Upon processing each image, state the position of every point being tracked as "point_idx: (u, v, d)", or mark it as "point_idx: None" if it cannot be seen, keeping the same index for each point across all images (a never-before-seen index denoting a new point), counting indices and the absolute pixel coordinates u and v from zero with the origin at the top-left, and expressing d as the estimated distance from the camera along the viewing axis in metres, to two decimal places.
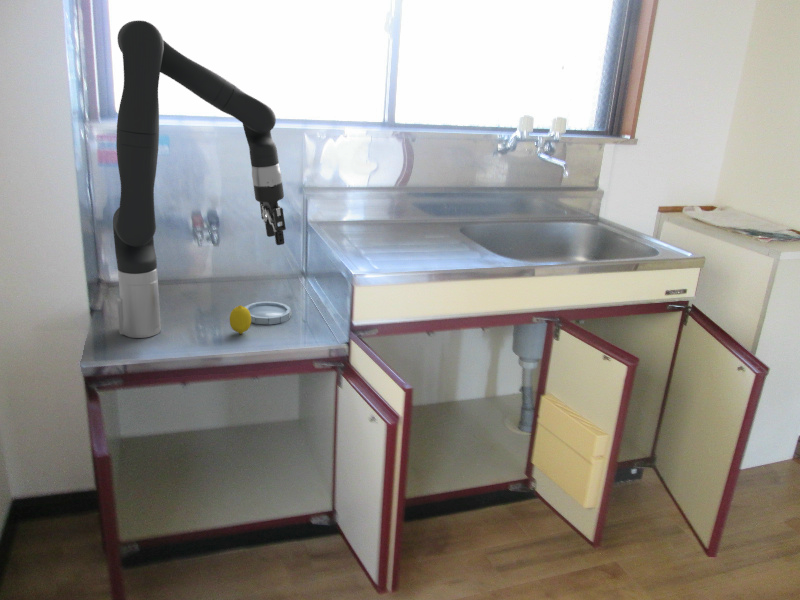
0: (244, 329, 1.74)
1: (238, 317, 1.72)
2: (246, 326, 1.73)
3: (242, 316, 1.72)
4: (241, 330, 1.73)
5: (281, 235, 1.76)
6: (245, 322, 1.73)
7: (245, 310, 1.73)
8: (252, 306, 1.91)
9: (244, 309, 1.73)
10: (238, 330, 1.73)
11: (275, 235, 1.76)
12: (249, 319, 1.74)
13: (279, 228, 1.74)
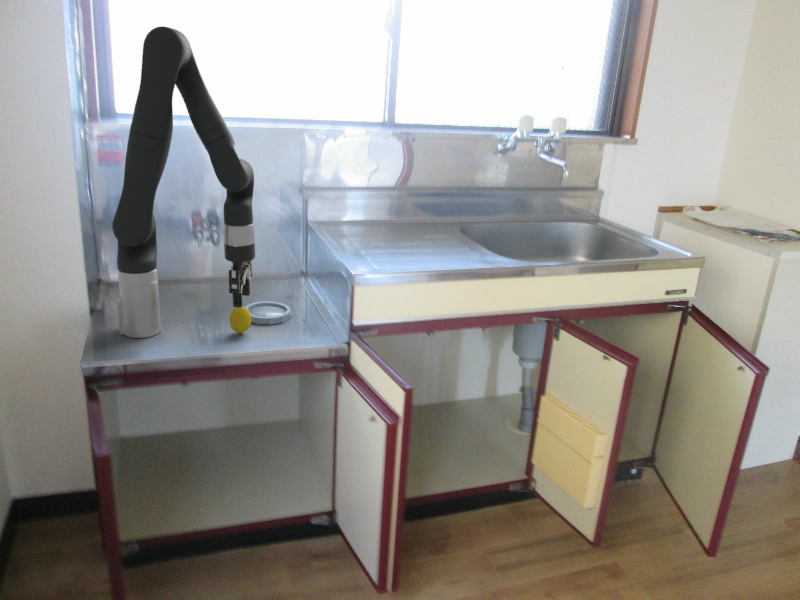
0: (244, 329, 1.74)
1: (238, 317, 1.72)
2: (246, 326, 1.73)
3: (242, 316, 1.72)
4: (241, 330, 1.73)
5: (237, 298, 1.67)
6: (245, 322, 1.73)
7: (245, 310, 1.73)
8: (252, 306, 1.91)
9: (244, 309, 1.73)
10: (238, 330, 1.73)
11: None
12: (249, 319, 1.74)
13: (232, 290, 1.65)
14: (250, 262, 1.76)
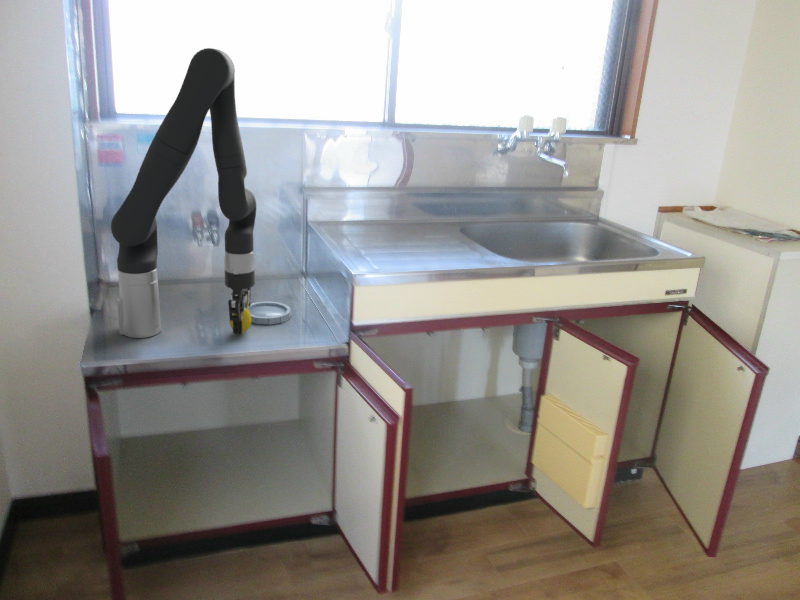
0: (244, 329, 1.74)
1: None
2: (246, 326, 1.73)
3: (242, 316, 1.72)
4: None
5: (237, 325, 1.71)
6: (245, 322, 1.73)
7: (245, 310, 1.73)
8: (252, 306, 1.91)
9: None
10: None
11: (233, 323, 1.71)
12: (249, 319, 1.74)
13: (233, 318, 1.68)
14: (249, 291, 1.78)
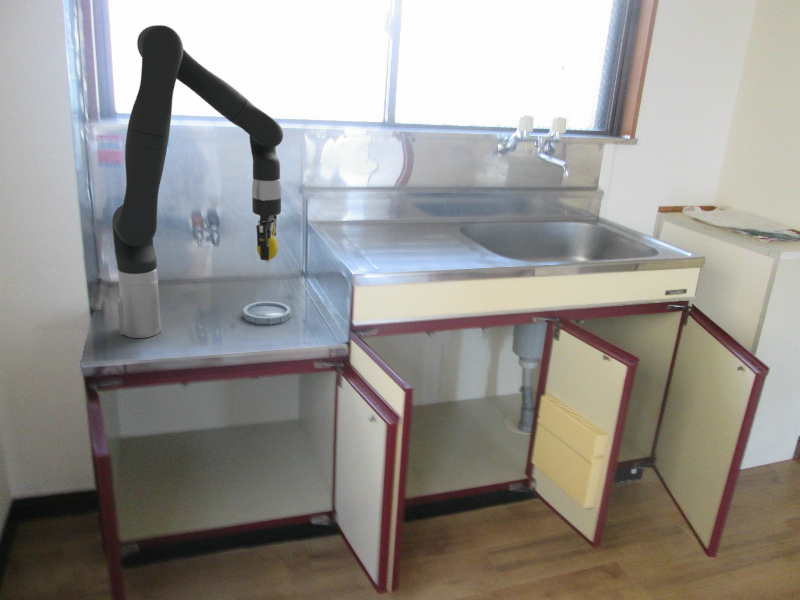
0: (271, 256, 1.81)
1: None
2: (273, 253, 1.81)
3: (269, 243, 1.79)
4: None
5: (265, 251, 1.78)
6: (272, 249, 1.80)
7: (272, 238, 1.80)
8: (252, 306, 1.91)
9: (271, 237, 1.80)
10: None
11: (260, 249, 1.79)
12: (276, 246, 1.81)
13: (260, 243, 1.76)
14: None
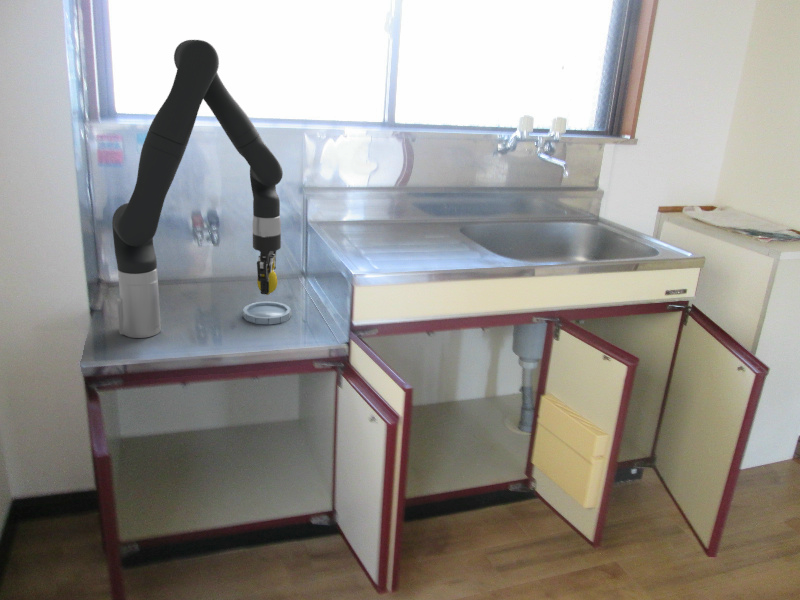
0: (271, 290, 1.85)
1: None
2: (273, 287, 1.84)
3: (269, 278, 1.83)
4: None
5: (265, 285, 1.82)
6: (272, 284, 1.84)
7: (272, 272, 1.84)
8: (252, 306, 1.91)
9: None
10: None
11: (260, 284, 1.82)
12: (275, 281, 1.85)
13: (261, 278, 1.79)
14: (275, 255, 1.89)
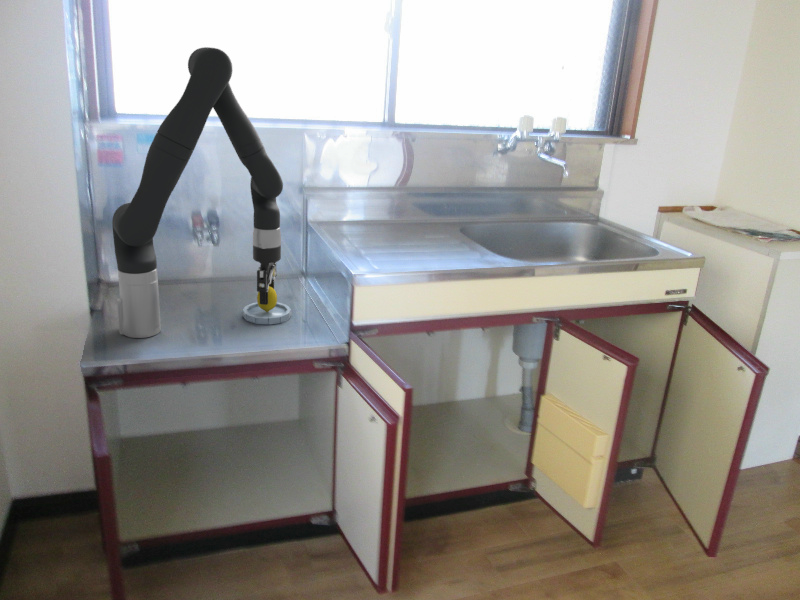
0: (271, 307, 1.87)
1: None
2: (272, 304, 1.86)
3: (268, 295, 1.85)
4: (268, 308, 1.86)
5: (264, 296, 1.82)
6: (272, 301, 1.86)
7: (271, 289, 1.86)
8: (252, 306, 1.91)
9: (271, 289, 1.86)
10: (265, 308, 1.86)
11: None
12: (275, 298, 1.87)
13: (260, 289, 1.79)
14: (275, 263, 1.90)
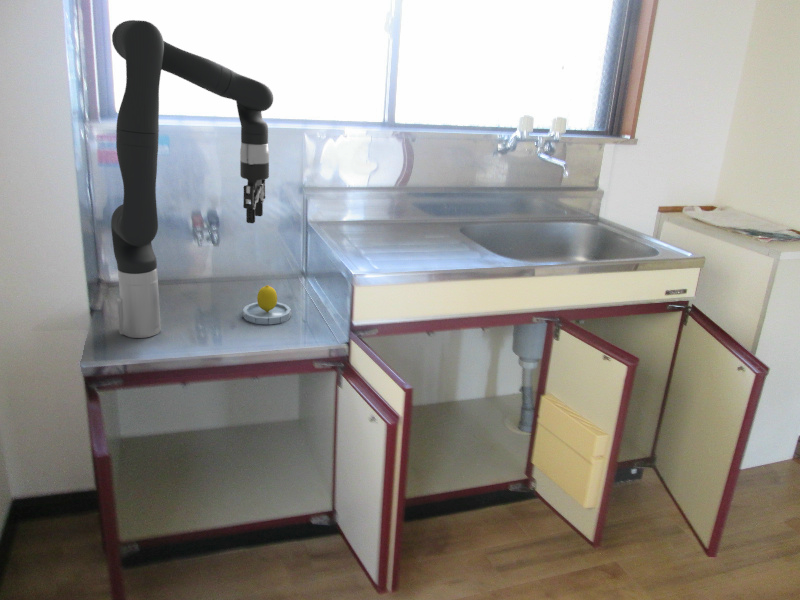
0: (271, 307, 1.87)
1: (266, 296, 1.85)
2: (273, 304, 1.86)
3: (269, 295, 1.85)
4: (268, 308, 1.86)
5: (251, 213, 1.78)
6: (272, 301, 1.86)
7: (272, 289, 1.86)
8: (252, 306, 1.91)
9: (271, 288, 1.86)
10: (265, 308, 1.86)
11: (246, 212, 1.79)
12: (275, 298, 1.87)
13: (246, 205, 1.76)
14: (264, 184, 1.87)
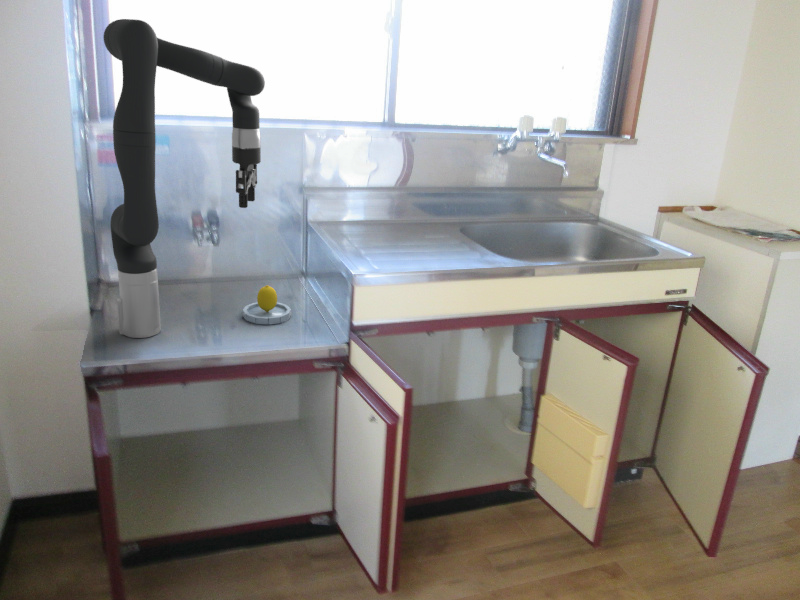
0: (271, 307, 1.87)
1: (266, 296, 1.85)
2: (272, 304, 1.86)
3: (269, 295, 1.85)
4: (268, 308, 1.86)
5: (243, 198, 1.80)
6: (272, 301, 1.86)
7: (272, 289, 1.86)
8: (252, 306, 1.91)
9: (271, 289, 1.86)
10: (265, 308, 1.86)
11: None
12: (275, 298, 1.87)
13: (239, 190, 1.77)
14: (256, 169, 1.88)
